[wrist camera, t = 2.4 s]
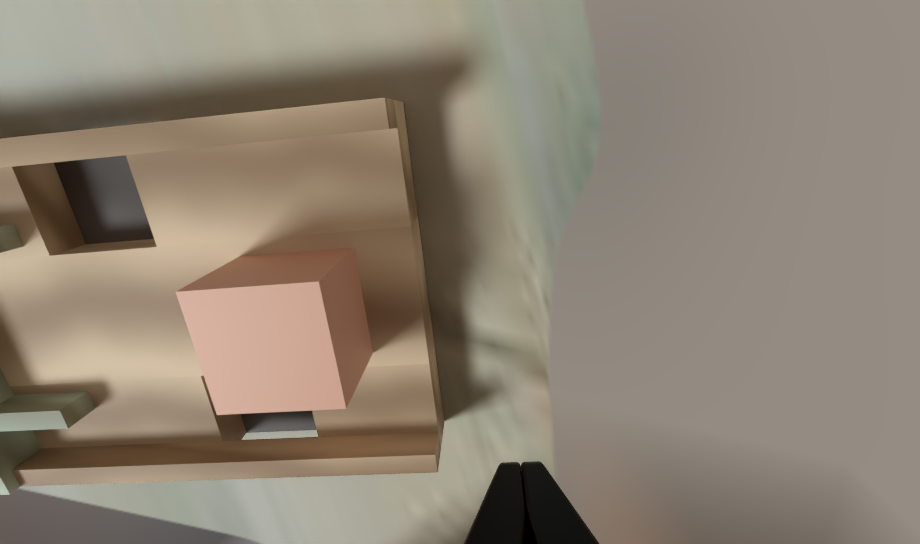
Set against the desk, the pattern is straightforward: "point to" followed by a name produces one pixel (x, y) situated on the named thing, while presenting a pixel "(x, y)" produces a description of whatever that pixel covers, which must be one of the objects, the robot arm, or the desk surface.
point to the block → (280, 331)
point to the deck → (186, 260)
